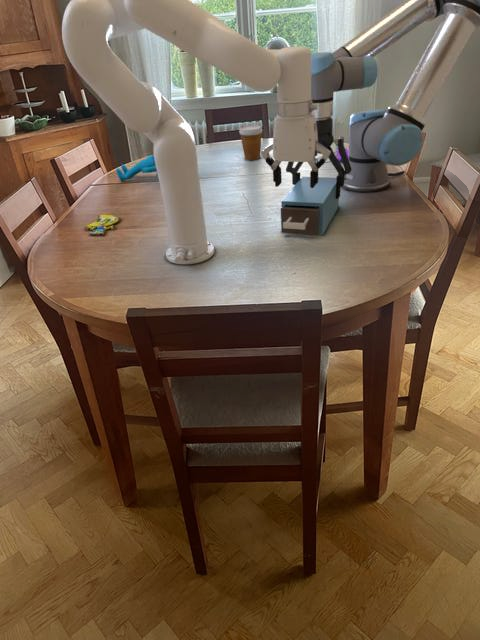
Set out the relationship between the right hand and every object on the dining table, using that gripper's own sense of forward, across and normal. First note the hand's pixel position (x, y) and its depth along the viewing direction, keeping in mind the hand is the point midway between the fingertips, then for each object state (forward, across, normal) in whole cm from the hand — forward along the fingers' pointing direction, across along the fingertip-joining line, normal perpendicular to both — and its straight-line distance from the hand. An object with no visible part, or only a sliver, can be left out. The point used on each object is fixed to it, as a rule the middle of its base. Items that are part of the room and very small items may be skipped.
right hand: (317, 196), depth 142 cm
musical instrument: (+4, +8, -58) cm, 59 cm away
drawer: (+3, 0, +14) cm, 14 cm away
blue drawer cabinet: (+4, 0, +8) cm, 9 cm away
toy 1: (+4, +61, +24) cm, 66 cm away
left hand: (-11, 0, +24) cm, 26 cm away
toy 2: (+4, +68, -23) cm, 72 cm away
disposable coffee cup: (+4, +40, -54) cm, 68 cm away
